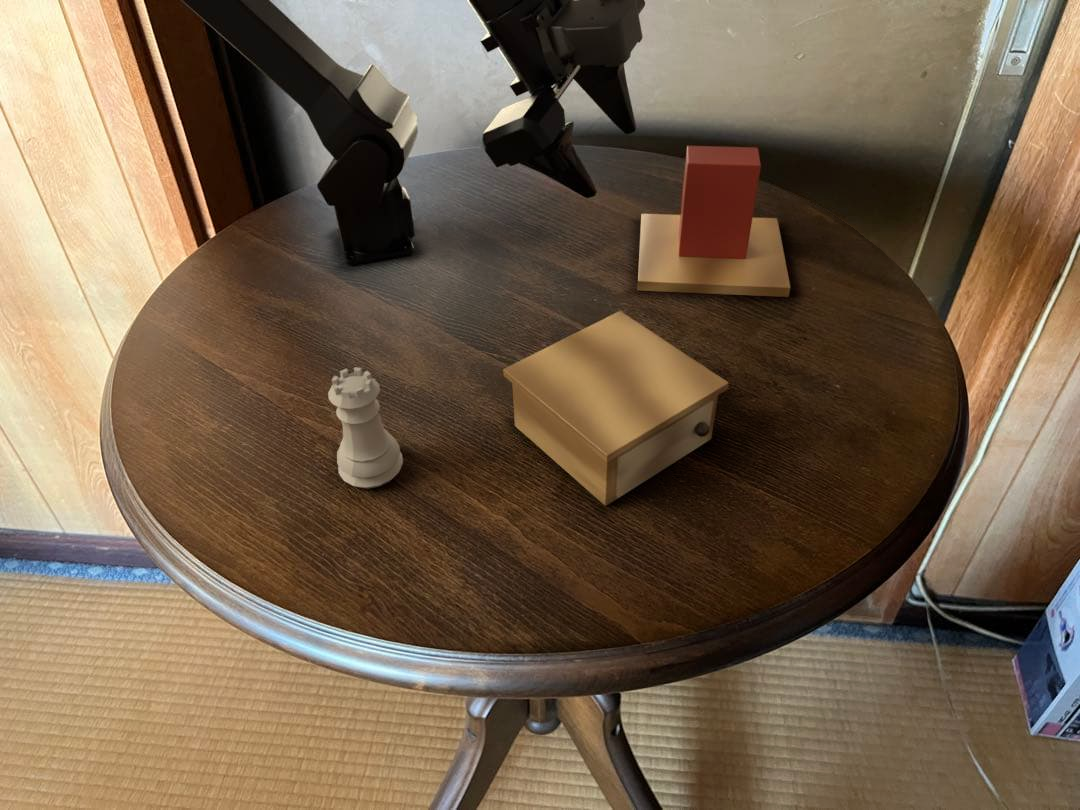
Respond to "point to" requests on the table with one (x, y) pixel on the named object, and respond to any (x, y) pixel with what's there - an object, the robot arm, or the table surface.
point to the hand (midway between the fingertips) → (612, 163)
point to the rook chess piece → (363, 432)
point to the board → (711, 262)
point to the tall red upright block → (718, 201)
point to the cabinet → (614, 404)
